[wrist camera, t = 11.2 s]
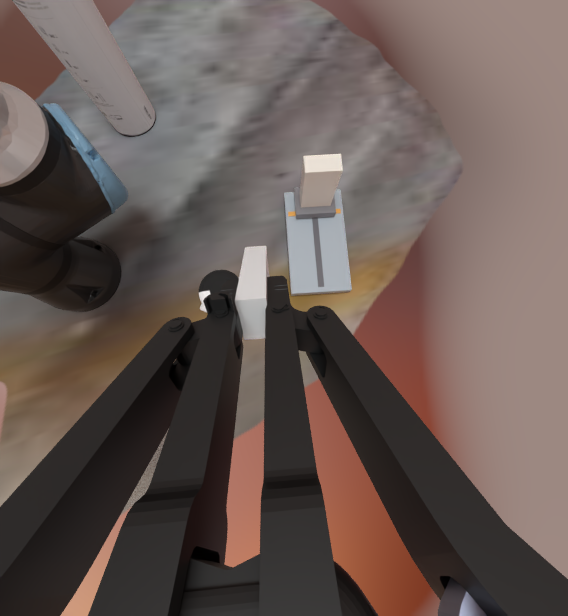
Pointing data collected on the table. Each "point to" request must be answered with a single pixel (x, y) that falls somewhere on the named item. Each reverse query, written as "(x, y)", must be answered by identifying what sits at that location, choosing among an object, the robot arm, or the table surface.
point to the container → (214, 284)
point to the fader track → (317, 251)
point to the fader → (318, 186)
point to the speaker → (92, 60)
